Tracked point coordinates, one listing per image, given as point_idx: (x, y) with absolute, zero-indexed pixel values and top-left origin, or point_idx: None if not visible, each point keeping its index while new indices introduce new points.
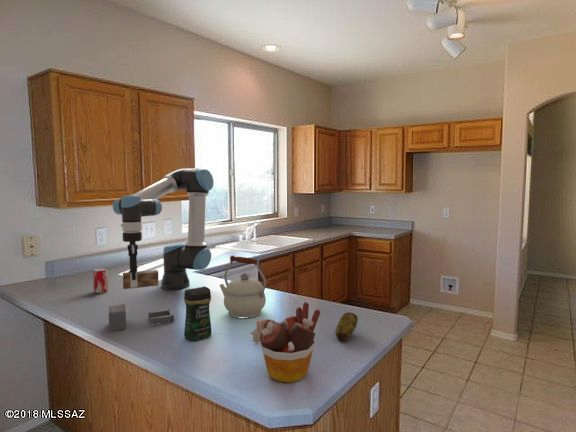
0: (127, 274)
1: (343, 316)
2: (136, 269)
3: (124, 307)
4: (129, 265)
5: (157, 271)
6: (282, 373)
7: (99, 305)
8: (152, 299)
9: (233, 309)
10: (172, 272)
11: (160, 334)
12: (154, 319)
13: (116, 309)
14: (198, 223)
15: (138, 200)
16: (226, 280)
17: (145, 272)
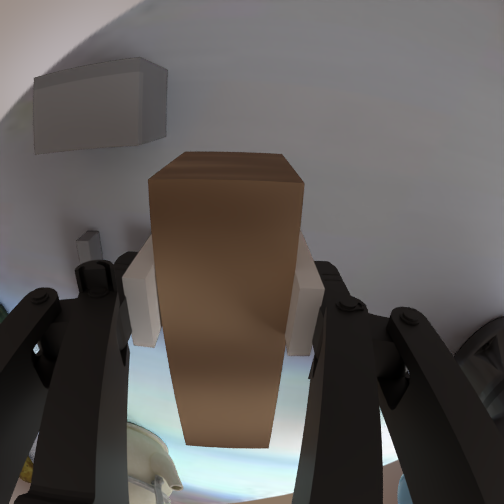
0: (165, 233)
1: (20, 473)
2: (40, 357)
3: (80, 145)
4: (403, 315)
5: (207, 445)
6: None
7: (455, 66)
8: (413, 278)
9: None
10: (494, 389)
11: (15, 249)
12: (80, 253)
13: (66, 106)
14: None
15: None
16: (159, 502)
17: (203, 391)
